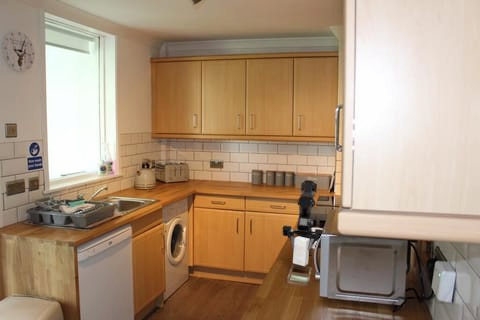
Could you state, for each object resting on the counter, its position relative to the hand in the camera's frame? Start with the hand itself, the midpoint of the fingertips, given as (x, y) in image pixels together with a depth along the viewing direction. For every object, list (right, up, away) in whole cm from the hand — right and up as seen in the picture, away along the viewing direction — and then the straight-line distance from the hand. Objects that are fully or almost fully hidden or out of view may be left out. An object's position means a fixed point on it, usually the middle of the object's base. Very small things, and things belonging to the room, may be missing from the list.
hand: (301, 249), depth 192 cm
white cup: (+15, -8, +45) cm, 48 cm away
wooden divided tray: (0, -13, +4) cm, 14 cm away
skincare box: (0, -7, +2) cm, 7 cm away
